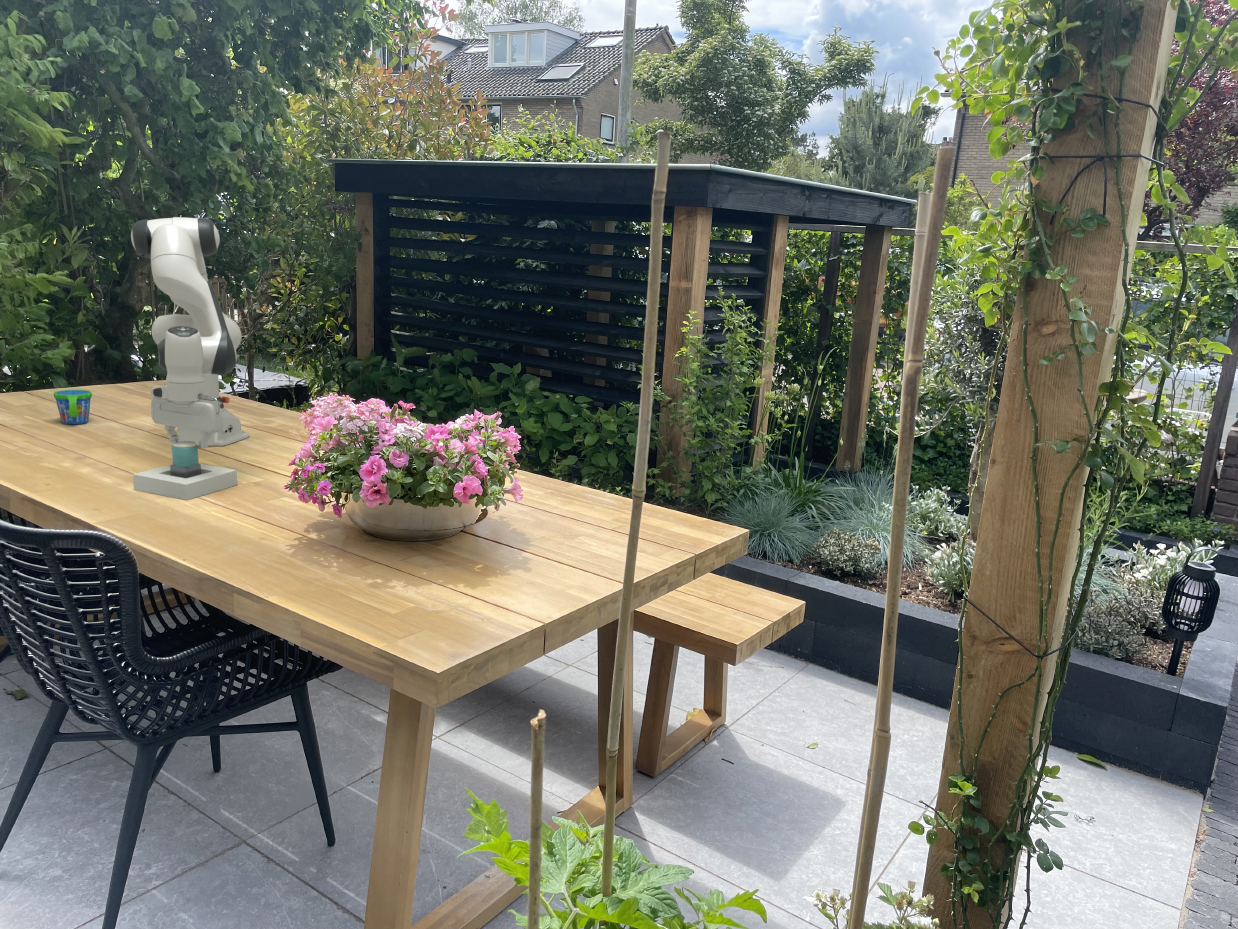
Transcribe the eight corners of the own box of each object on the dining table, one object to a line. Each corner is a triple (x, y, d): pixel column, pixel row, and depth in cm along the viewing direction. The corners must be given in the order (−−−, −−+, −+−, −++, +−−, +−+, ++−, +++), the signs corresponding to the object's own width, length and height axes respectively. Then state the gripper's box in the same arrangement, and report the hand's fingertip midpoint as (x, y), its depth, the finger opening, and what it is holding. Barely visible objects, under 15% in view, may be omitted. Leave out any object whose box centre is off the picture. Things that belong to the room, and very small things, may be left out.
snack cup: (60, 418, 293) (57, 387, 291) (96, 417, 298) (94, 387, 295) (52, 428, 280) (49, 396, 277) (90, 427, 284) (88, 396, 281)
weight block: (186, 479, 232) (185, 461, 231) (201, 482, 230) (200, 464, 229) (171, 484, 227) (170, 465, 226) (186, 487, 226) (185, 468, 224)
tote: (186, 475, 239) (186, 460, 238) (237, 484, 234) (236, 470, 233) (133, 489, 224) (132, 474, 223) (186, 500, 218) (186, 484, 217)
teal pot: (185, 460, 231) (184, 439, 230) (203, 463, 229) (203, 442, 228) (167, 465, 226) (166, 443, 224) (185, 468, 224) (184, 447, 223)
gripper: (228, 395, 224) (230, 448, 227) (165, 385, 230) (168, 437, 234) (209, 398, 218) (211, 453, 222) (145, 388, 224) (148, 441, 228)
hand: (188, 445), depth 228 cm, fingers open, 8 cm apart
